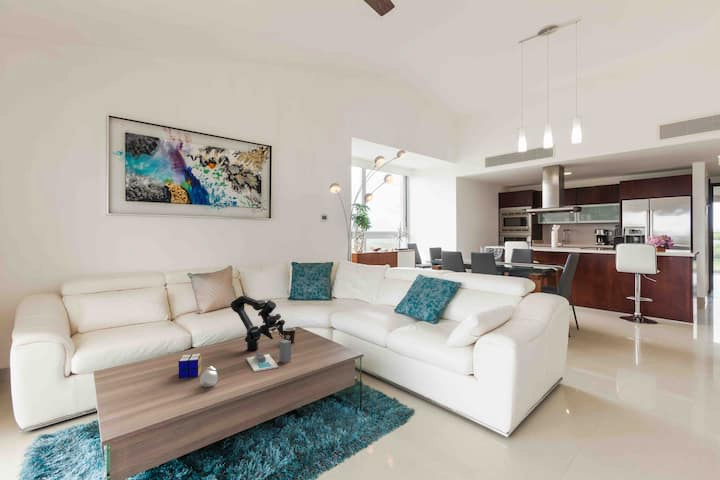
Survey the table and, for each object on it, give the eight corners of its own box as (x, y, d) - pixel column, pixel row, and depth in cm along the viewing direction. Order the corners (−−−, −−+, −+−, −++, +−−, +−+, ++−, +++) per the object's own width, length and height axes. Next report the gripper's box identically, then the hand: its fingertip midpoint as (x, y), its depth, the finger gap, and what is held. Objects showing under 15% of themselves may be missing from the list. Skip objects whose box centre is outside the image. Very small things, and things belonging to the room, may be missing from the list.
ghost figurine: (222, 384, 184) (222, 366, 184) (206, 391, 176) (206, 372, 175) (211, 380, 189) (211, 362, 188) (196, 387, 180) (195, 368, 180)
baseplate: (246, 359, 219) (246, 354, 219) (268, 355, 226) (268, 350, 226) (254, 372, 200) (254, 366, 200) (278, 367, 207) (278, 361, 207)
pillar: (279, 361, 217) (279, 341, 216) (285, 358, 221) (285, 339, 220) (284, 363, 214) (284, 343, 213) (290, 360, 218) (290, 341, 217)
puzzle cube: (178, 379, 190) (178, 361, 190) (182, 371, 200) (182, 354, 199) (198, 377, 193) (198, 359, 192) (201, 370, 202) (201, 353, 202)
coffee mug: (297, 342, 253) (297, 328, 253) (289, 345, 246) (289, 331, 245) (286, 339, 259) (286, 326, 259) (277, 342, 252) (277, 329, 252)
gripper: (261, 312, 216) (272, 333, 211) (283, 307, 232) (294, 326, 226) (252, 323, 221) (264, 343, 215) (275, 317, 237) (286, 336, 231)
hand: (277, 337), depth 222 cm, fingers open, 9 cm apart
